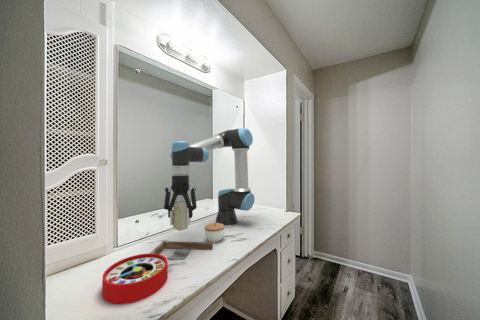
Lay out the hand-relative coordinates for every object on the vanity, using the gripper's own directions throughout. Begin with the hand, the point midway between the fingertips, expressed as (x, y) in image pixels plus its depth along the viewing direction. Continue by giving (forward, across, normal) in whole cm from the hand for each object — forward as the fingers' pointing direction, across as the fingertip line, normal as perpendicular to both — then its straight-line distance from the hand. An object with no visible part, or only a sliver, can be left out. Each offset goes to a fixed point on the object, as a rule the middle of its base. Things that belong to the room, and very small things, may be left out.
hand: (180, 224), depth 87 cm
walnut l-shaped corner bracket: (+14, +2, -1) cm, 14 cm away
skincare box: (+2, 0, 0) cm, 2 cm away
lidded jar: (+14, +13, +17) cm, 25 cm away
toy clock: (+14, -7, -21) cm, 26 cm away
